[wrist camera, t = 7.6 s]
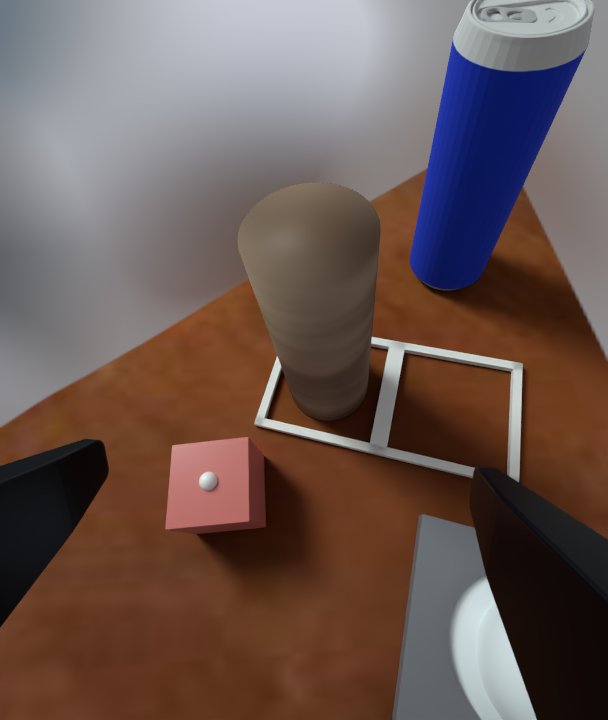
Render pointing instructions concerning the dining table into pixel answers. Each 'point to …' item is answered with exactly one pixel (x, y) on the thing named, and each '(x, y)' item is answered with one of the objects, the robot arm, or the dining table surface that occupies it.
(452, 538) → the dome base
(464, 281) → the beverage can
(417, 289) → the dining table surface
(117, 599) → the dining table surface
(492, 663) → the dome
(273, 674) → the dining table surface
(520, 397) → the white rectangular frame
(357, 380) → the brown lumpy cylinder
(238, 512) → the red die
